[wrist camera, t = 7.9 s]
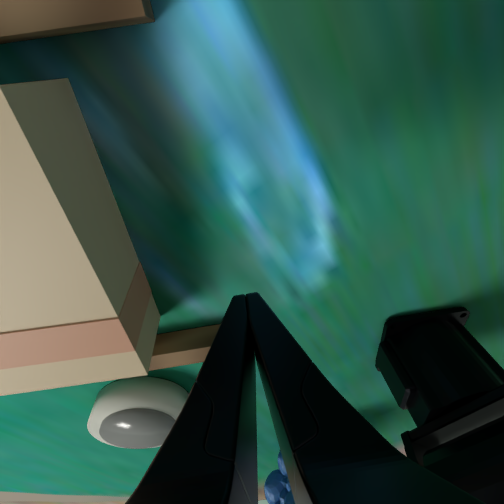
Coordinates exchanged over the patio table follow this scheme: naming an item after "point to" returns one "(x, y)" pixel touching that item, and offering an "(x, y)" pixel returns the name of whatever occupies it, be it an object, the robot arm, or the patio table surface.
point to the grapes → (278, 485)
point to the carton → (64, 252)
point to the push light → (136, 412)
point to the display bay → (82, 20)
